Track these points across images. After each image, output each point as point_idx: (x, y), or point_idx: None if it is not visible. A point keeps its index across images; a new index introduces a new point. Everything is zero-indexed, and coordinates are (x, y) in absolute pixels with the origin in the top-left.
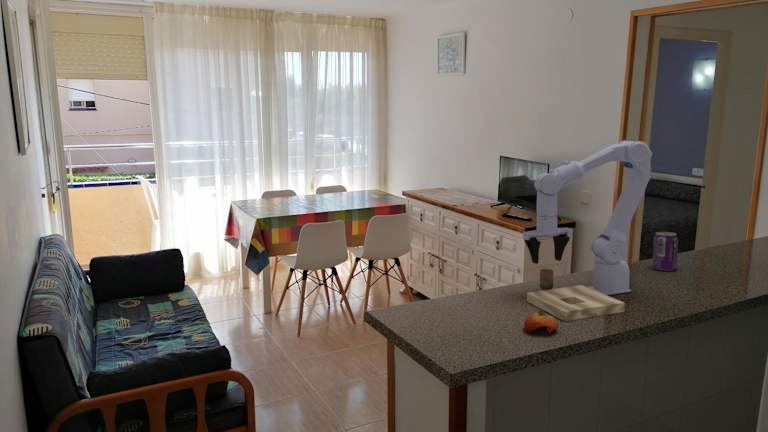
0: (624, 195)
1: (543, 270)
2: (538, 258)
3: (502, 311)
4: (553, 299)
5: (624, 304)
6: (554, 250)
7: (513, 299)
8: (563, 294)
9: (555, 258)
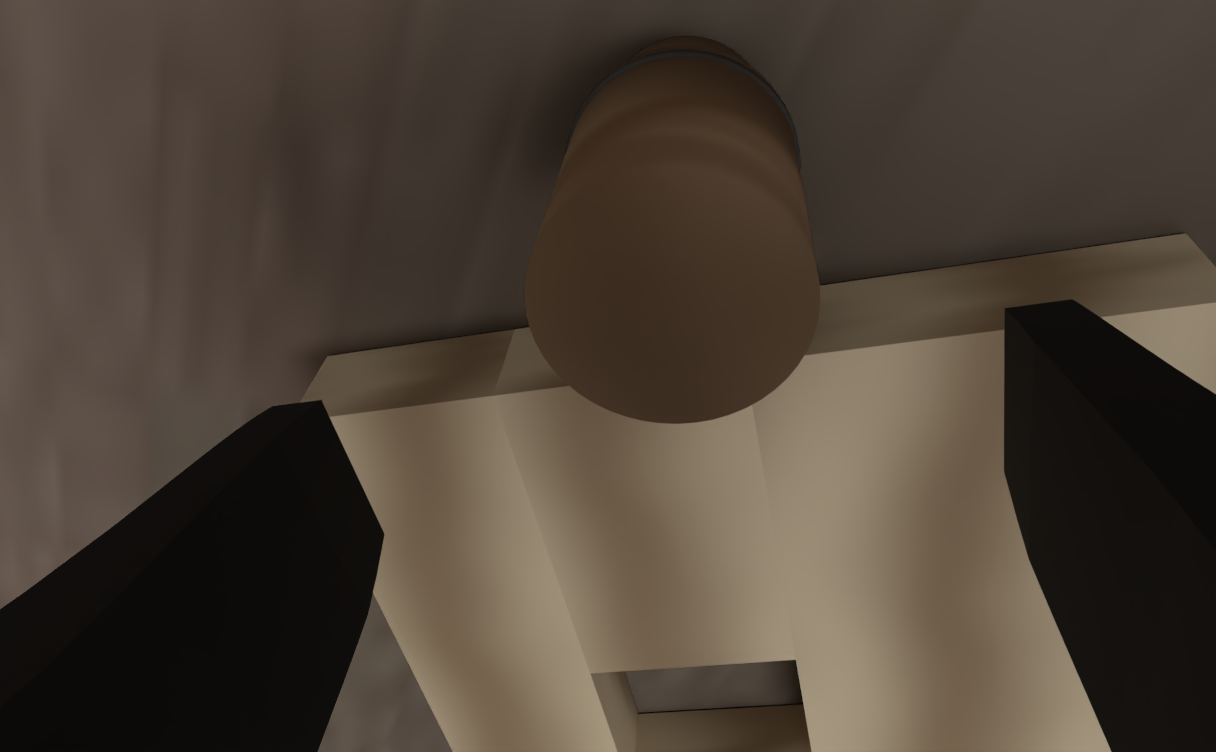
0: None
1: (600, 294)
2: (346, 662)
3: (49, 544)
4: (532, 670)
5: None
6: (1117, 432)
7: (171, 247)
8: (717, 576)
9: (1012, 349)
